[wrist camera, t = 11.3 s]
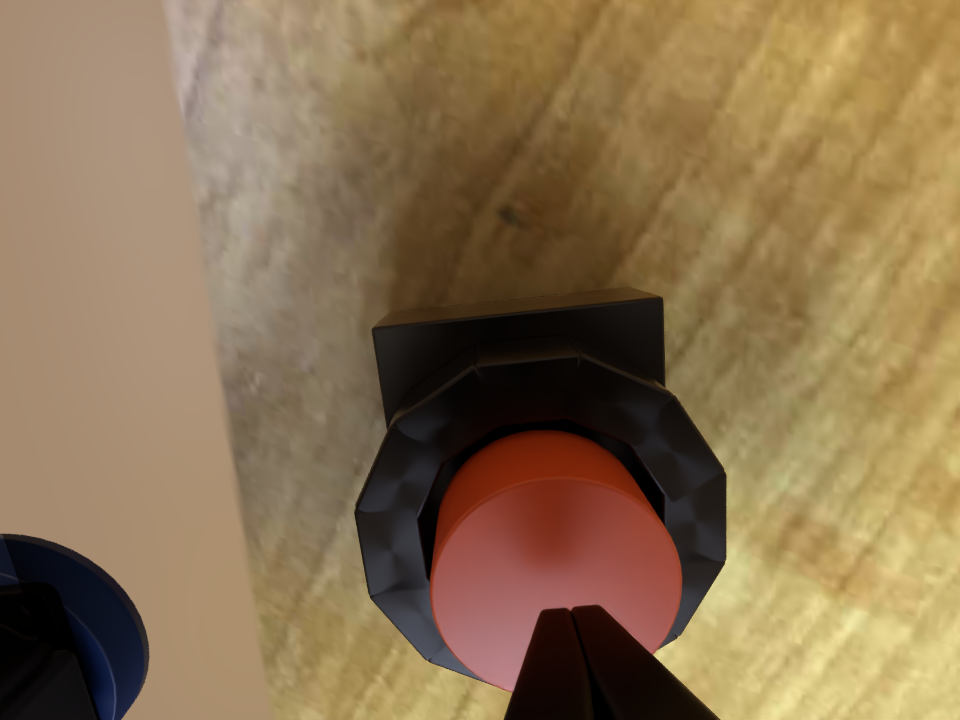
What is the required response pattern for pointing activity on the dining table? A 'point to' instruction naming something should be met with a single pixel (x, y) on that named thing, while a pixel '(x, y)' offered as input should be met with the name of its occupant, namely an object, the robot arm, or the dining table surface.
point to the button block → (523, 407)
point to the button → (546, 549)
